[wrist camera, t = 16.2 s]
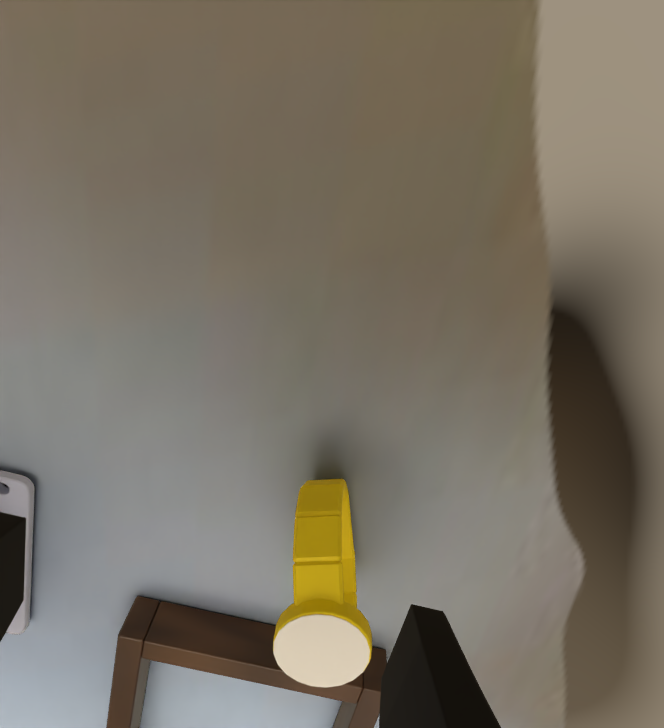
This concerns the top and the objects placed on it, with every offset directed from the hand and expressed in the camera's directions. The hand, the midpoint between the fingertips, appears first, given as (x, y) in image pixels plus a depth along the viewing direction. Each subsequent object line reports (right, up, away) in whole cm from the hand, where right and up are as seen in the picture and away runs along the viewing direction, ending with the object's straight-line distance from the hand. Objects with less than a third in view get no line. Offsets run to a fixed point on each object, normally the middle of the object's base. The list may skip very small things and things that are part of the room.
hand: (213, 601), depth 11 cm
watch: (+2, -1, +11) cm, 11 cm away
